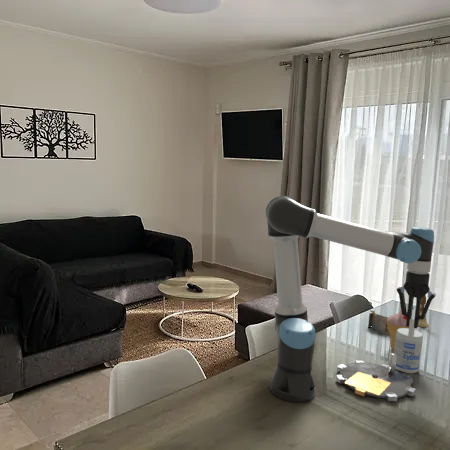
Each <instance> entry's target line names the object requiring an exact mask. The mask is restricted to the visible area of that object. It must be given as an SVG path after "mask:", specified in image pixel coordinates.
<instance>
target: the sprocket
mask: <svg viewBox="0 0 450 450" xmlns="http://www.w3.org/2000/svg"><path fill="white" fill-rule="evenodd" d="M388 359H389V360H388V365H387V364H385V363H384V364H377V363H371V362H365V361H364V360H355V361H354V362H352V363H348V364H343V363H340V364H339V365H337V366H336V367H337V368H336V371H337V372H339V374H336V381H337V383H338V384H340V385H341V384H342V385H343V384H344V385H345V386H346V387H348V388H349V389H351V390H352V391H354V394H356V395H358V396H361V397H362V398H363V397H364V398H365V397H366V396H369V397H372V398H379V399H385V400H386V401H387V402H398V399H401V398H404V397H406V396H409V397H414V395H415V394H416V390H417V389H416V388H414V387H412V384H413V383H414V379H413V378H412V376H410V375H409V374H407V375H406V374H405V375H404V374H403V373H401V371H400V372H399V370H397V369H396V368H395V367H396V359H397V354H395V353H394V352H390V353H389V357H388Z"/></svg>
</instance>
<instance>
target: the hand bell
mask: <svg viewBox="0 0 450 450" xmlns="http://www.w3.org/2000/svg"><path fill="white" fill-rule="evenodd" d="M426 302H427V294H426V295H425V296H423V297H422V300H421V308H420V315H421V314H422V312H423V309H424V307H425V304H426ZM429 326H430V325H429V322H428V321H427V315H426V316H425V318H424V319H420V320H419V324H418V328H419V327H421V328H428V327H429Z"/></svg>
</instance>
